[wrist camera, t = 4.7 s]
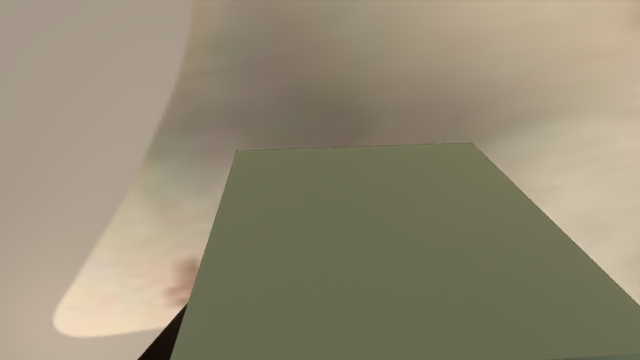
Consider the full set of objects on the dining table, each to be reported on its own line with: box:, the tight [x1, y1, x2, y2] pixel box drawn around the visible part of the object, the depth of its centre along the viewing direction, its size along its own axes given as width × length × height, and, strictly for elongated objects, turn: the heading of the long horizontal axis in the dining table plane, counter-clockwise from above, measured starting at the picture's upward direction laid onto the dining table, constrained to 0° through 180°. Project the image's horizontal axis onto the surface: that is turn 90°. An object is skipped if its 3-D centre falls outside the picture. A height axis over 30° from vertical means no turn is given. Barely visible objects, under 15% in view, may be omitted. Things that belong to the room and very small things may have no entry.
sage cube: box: [170, 143, 640, 360], centre depth 7 cm, size 5×5×5 cm
